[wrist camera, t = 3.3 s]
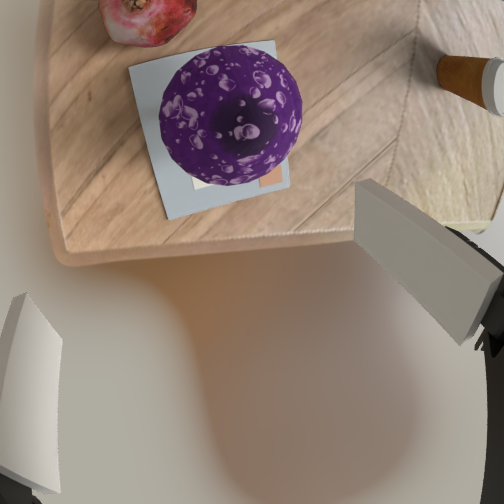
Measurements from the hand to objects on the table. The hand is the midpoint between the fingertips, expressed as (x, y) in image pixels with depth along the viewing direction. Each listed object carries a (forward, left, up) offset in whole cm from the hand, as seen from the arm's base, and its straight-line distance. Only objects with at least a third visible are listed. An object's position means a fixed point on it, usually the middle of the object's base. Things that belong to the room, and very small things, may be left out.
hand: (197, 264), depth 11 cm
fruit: (-14, +1, -26) cm, 29 cm away
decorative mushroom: (-1, +6, -25) cm, 26 cm away
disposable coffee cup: (-4, +45, -26) cm, 52 cm away
